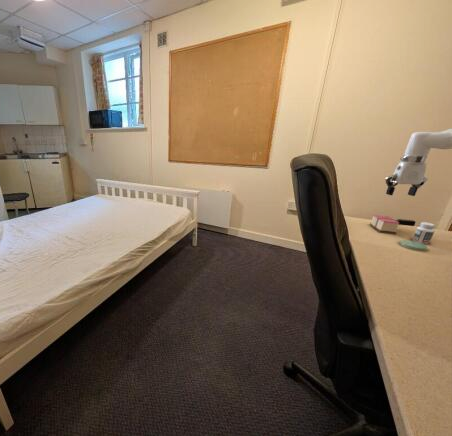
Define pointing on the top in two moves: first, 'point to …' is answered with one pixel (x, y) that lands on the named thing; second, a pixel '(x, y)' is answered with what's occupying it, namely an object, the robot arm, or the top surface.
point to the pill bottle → (424, 233)
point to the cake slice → (377, 218)
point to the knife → (401, 222)
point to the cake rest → (387, 225)
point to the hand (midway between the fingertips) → (399, 195)
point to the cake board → (381, 230)
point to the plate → (413, 245)
